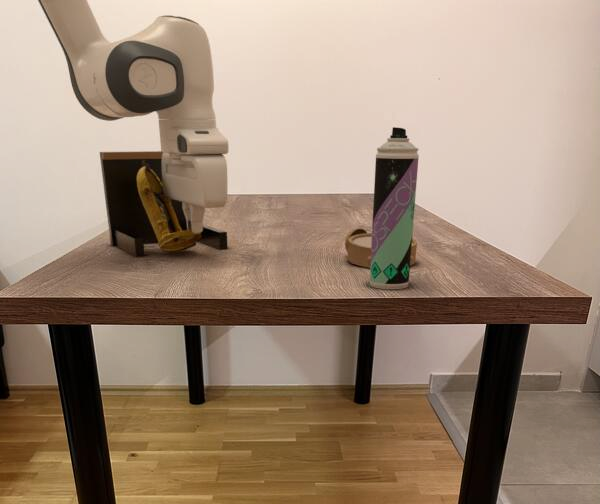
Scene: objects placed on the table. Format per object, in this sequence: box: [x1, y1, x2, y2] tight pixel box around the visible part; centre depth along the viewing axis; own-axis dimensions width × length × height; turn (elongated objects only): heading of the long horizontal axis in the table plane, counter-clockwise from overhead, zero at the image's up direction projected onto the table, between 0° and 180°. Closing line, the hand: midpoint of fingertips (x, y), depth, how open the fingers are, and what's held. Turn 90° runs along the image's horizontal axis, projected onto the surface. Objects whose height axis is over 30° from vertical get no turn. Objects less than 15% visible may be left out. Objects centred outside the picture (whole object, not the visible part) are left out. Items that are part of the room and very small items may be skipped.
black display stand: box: [99, 150, 229, 258], centre depth 114 cm, size 18×14×16 cm
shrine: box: [137, 161, 202, 253], centre depth 108 cm, size 12×8×15 cm
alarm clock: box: [344, 228, 418, 269], centre depth 106 cm, size 11×5×15 cm
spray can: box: [369, 126, 420, 290], centre depth 85 cm, size 6×6×20 cm
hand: (195, 231), depth 106 cm, fingers closed
